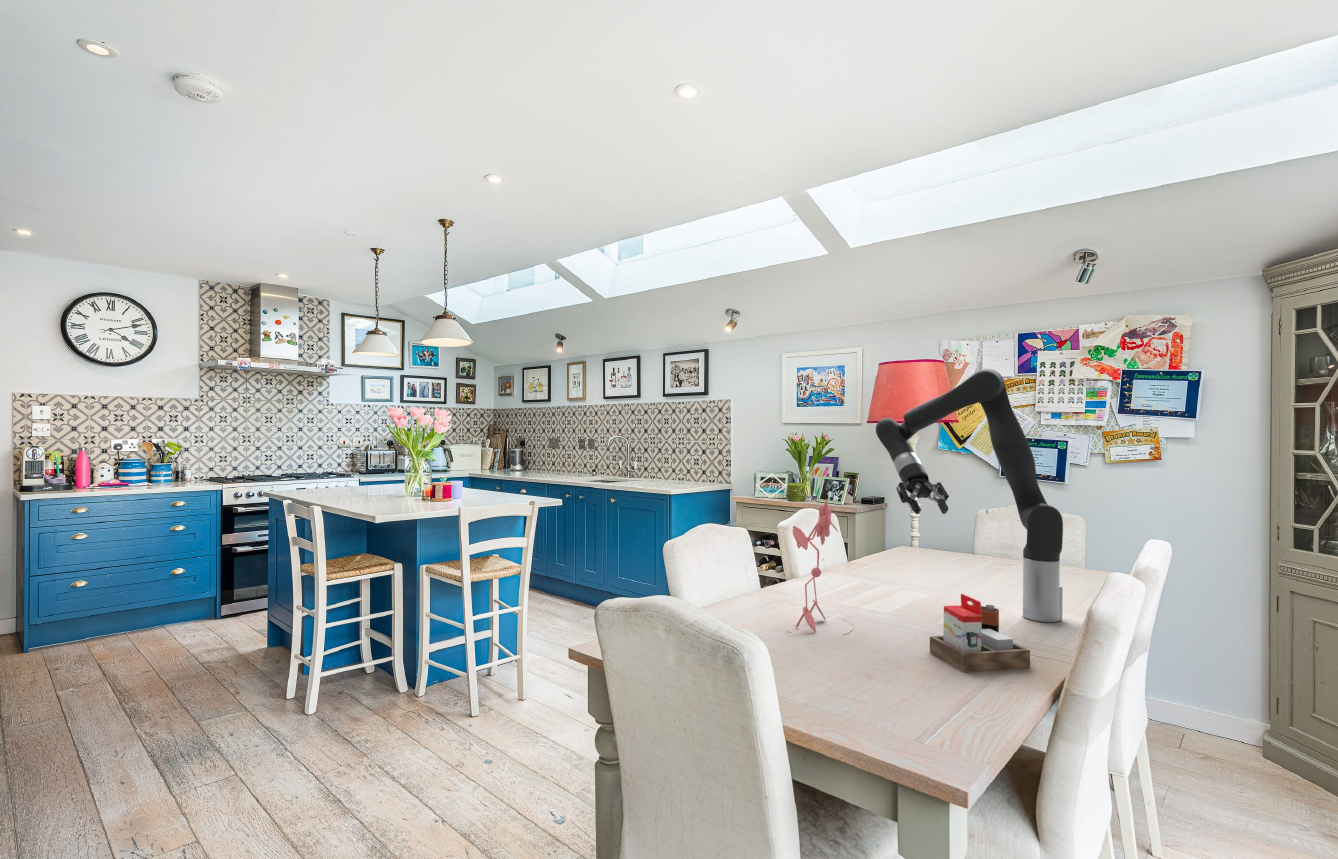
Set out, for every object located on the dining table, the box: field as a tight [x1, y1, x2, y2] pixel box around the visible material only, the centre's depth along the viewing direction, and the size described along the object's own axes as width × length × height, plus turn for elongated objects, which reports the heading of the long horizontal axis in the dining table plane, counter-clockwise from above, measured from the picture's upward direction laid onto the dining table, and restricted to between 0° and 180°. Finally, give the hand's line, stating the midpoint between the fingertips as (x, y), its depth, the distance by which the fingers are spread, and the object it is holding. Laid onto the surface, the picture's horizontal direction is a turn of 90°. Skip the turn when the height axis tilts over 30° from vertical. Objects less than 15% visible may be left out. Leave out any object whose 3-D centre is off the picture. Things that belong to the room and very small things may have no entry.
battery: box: [971, 603, 1000, 633], centre depth 165 cm, size 4×7×10 cm, turn 55°
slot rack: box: [929, 635, 1031, 673], centre depth 153 cm, size 17×13×4 cm
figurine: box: [785, 498, 854, 636], centre depth 178 cm, size 15×26×35 cm, turn 151°
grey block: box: [981, 629, 1014, 651], centre depth 154 cm, size 4×8×6 cm, turn 11°
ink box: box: [942, 593, 982, 653], centre depth 153 cm, size 8×5×15 cm, turn 8°
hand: (932, 512), depth 187 cm, fingers open, 8 cm apart
